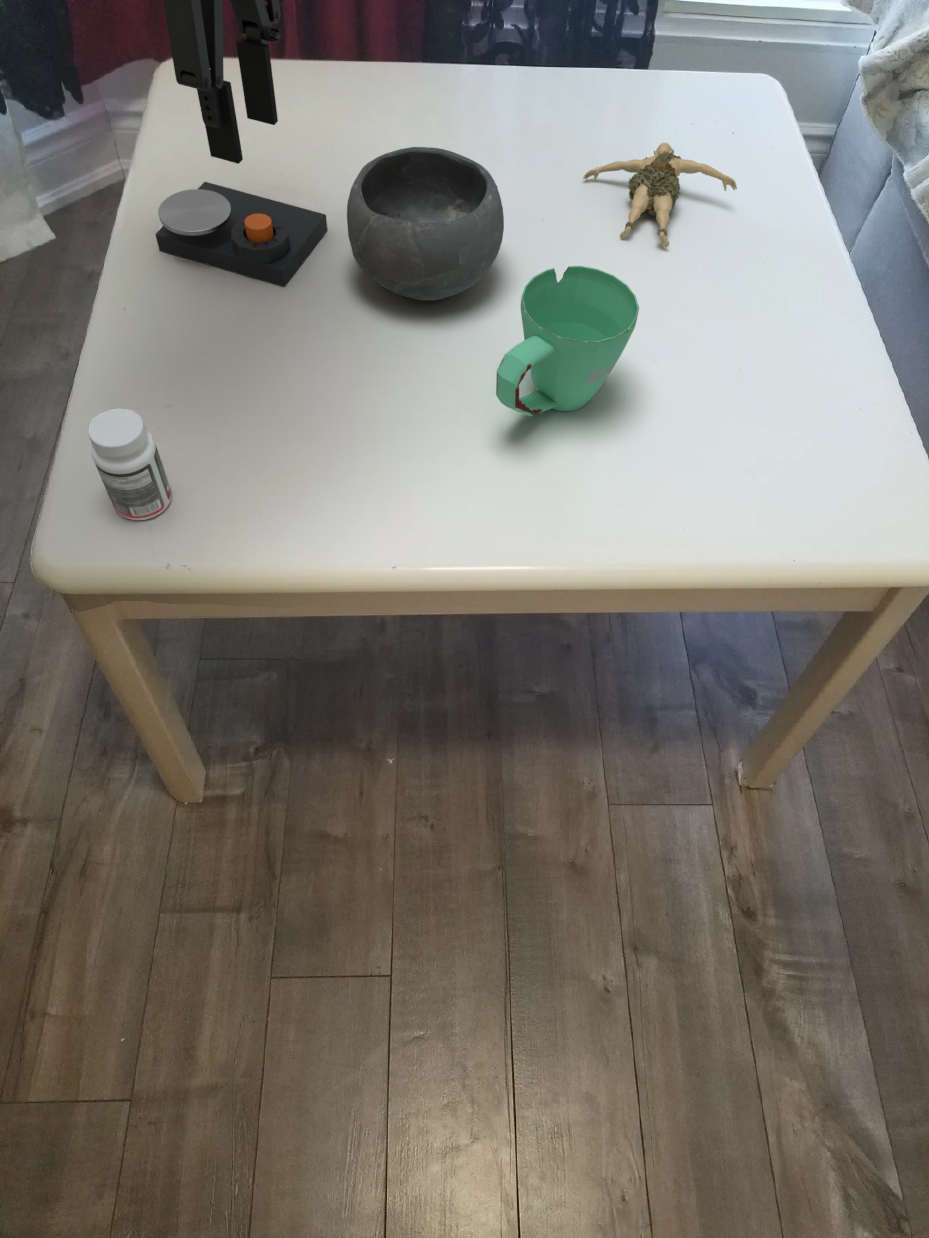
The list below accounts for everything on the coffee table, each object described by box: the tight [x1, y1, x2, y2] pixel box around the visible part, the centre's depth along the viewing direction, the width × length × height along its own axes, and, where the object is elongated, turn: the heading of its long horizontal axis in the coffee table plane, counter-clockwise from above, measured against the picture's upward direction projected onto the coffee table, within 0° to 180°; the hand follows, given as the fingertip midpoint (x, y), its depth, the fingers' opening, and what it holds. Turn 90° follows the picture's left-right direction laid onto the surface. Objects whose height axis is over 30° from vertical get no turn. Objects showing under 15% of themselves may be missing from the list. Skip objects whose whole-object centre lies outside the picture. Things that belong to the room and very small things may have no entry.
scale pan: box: [157, 188, 232, 236], centre depth 90 cm, size 7×7×1 cm
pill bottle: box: [87, 408, 172, 521], centre depth 71 cm, size 5×5×8 cm
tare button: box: [244, 214, 274, 242], centre depth 89 cm, size 3×3×2 cm
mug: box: [495, 265, 640, 417], centre depth 79 cm, size 15×10×10 cm
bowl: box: [346, 146, 505, 301], centre depth 88 cm, size 15×15×10 cm
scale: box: [154, 181, 328, 287], centre depth 92 cm, size 14×10×4 cm
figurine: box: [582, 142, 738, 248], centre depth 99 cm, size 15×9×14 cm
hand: (245, 138), depth 81 cm, fingers open, 6 cm apart
